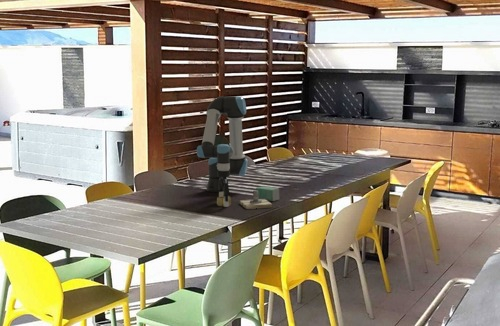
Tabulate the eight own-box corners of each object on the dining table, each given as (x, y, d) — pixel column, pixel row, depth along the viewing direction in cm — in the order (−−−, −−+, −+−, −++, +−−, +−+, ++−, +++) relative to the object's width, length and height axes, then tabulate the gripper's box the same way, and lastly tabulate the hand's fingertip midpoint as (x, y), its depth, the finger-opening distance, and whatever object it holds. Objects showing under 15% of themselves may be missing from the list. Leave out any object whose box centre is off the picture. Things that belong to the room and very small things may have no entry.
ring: (216, 203, 368) (215, 196, 367) (228, 202, 370) (228, 195, 369) (218, 206, 360) (218, 199, 360) (231, 205, 362) (231, 198, 362)
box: (262, 196, 388) (262, 185, 387) (279, 199, 380) (279, 188, 378) (255, 198, 382) (255, 187, 381) (272, 201, 374) (272, 189, 373)
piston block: (239, 203, 368) (239, 189, 366) (264, 202, 372) (264, 187, 371) (246, 209, 352) (246, 194, 351) (272, 207, 357) (272, 192, 355)
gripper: (213, 167, 373) (213, 200, 376) (221, 173, 349) (222, 209, 352) (224, 166, 375) (225, 199, 378) (234, 172, 351) (234, 208, 354)
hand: (223, 204), depth 365 cm, fingers open, 13 cm apart
